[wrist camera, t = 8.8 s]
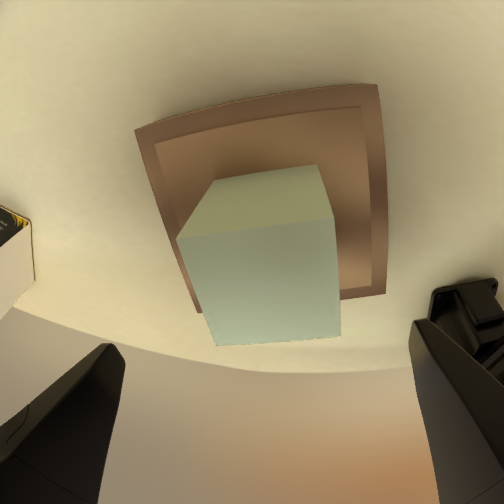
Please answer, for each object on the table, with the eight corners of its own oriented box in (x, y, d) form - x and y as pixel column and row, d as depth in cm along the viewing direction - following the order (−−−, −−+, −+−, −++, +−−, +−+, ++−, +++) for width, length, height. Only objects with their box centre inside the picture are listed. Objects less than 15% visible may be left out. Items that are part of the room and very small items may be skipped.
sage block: (327, 254, 17) (340, 336, 11) (236, 265, 18) (216, 345, 12) (316, 164, 14) (334, 217, 9) (214, 180, 15) (175, 238, 10)
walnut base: (375, 266, 20) (386, 296, 18) (207, 285, 23) (196, 315, 20) (362, 83, 14) (378, 84, 12) (156, 121, 17) (132, 131, 14)
